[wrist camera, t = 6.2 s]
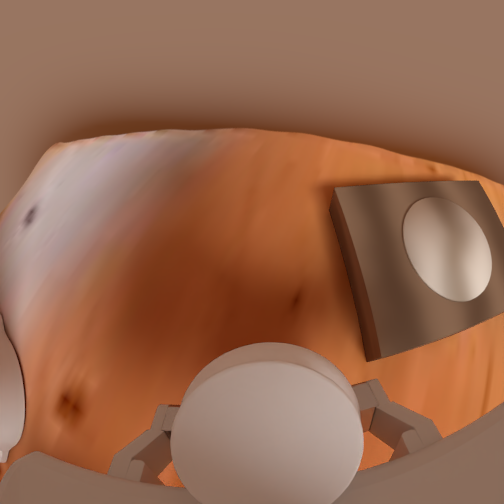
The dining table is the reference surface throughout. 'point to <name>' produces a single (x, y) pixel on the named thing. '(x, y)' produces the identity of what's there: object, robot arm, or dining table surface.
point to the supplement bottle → (268, 428)
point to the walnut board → (419, 260)
